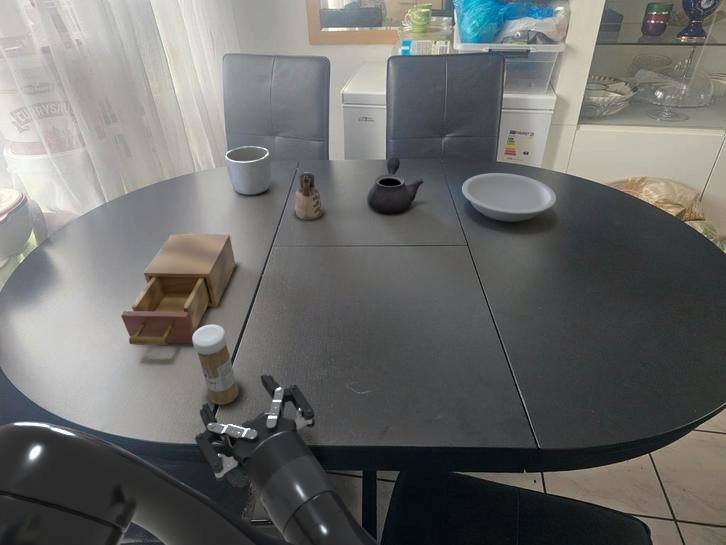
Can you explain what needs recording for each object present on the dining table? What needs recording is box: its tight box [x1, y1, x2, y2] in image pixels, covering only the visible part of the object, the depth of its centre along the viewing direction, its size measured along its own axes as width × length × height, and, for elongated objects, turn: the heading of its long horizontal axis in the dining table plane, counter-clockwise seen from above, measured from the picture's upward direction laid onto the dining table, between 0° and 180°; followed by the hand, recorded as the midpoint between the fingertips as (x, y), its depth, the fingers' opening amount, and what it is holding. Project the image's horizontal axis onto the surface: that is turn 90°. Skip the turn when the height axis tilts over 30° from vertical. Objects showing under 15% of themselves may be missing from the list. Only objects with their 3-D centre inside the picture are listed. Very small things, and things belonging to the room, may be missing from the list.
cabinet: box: [143, 233, 237, 308], centre depth 93 cm, size 15×13×8 cm
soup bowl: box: [461, 172, 557, 223], centre depth 120 cm, size 24×24×7 cm
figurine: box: [294, 171, 323, 221], centre depth 118 cm, size 7×7×12 cm
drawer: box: [120, 276, 211, 346], centre depth 82 cm, size 18×11×6 cm, turn 178°
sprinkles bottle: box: [192, 324, 239, 406], centre depth 68 cm, size 5×5×14 cm
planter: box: [224, 146, 272, 196], centre depth 131 cm, size 12×12×11 cm
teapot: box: [366, 156, 424, 213], centre depth 125 cm, size 19×15×10 cm
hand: (235, 392), depth 62 cm, fingers open, 8 cm apart
